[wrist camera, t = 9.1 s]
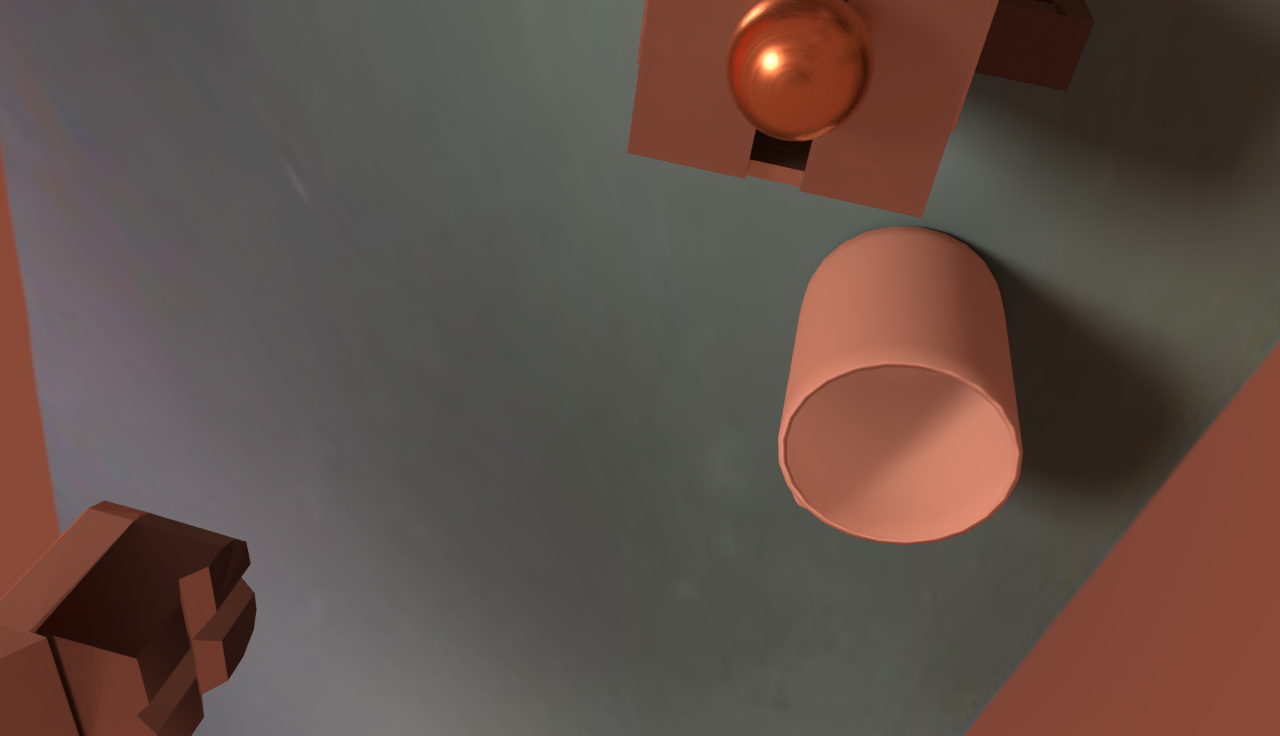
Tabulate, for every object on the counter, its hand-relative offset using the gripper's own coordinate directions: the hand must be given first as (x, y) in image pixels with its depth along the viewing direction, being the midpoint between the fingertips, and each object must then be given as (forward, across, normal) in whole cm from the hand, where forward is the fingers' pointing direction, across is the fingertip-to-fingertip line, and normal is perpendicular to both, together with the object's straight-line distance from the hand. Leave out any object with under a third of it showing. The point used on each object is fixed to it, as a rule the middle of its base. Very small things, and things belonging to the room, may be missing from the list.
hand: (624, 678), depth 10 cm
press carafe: (+38, -2, 0) cm, 38 cm away
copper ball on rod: (+34, 0, 0) cm, 34 cm away
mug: (+38, -7, +18) cm, 43 cm away
